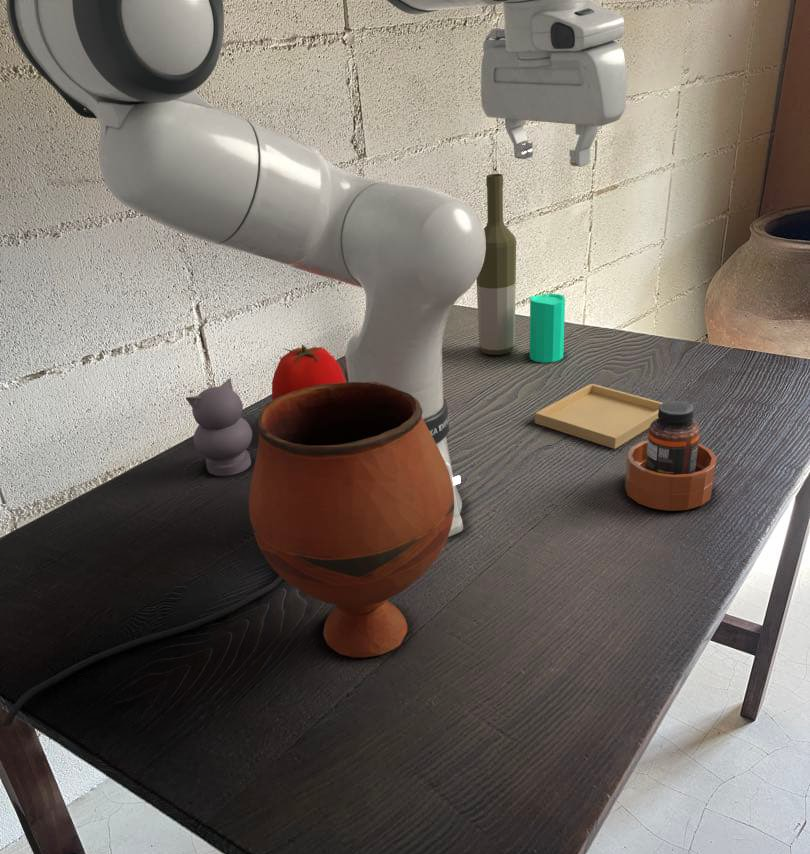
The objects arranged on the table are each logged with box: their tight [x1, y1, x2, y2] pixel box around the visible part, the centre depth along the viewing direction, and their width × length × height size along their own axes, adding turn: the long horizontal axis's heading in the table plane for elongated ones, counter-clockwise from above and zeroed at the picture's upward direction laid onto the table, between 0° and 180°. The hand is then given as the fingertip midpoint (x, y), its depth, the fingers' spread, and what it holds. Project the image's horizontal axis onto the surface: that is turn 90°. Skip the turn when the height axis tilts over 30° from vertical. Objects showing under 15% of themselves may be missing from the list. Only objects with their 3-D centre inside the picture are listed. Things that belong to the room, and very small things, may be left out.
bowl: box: [624, 439, 718, 512], centre depth 103 cm, size 10×10×5 cm
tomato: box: [271, 343, 346, 401], centre depth 125 cm, size 12×12×13 cm
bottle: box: [476, 173, 517, 356], centre depth 143 cm, size 7×7×30 cm
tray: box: [534, 383, 663, 450], centre depth 123 cm, size 14×14×2 cm
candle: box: [529, 288, 566, 363], centre depth 144 cm, size 6×6×12 cm
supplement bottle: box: [646, 400, 701, 475], centre depth 101 cm, size 6×6×11 cm
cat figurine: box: [185, 377, 253, 477], centre depth 117 cm, size 9×8×12 cm
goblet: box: [248, 381, 454, 659], centre depth 79 cm, size 19×19×25 cm
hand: (551, 161), depth 98 cm, fingers open, 8 cm apart
